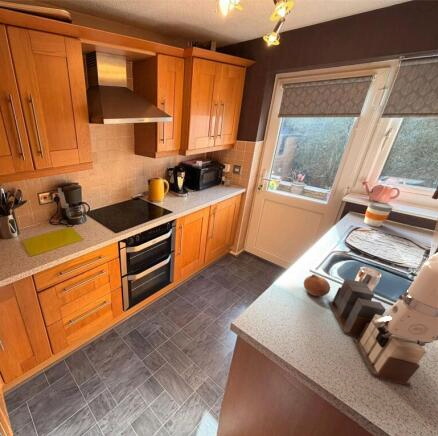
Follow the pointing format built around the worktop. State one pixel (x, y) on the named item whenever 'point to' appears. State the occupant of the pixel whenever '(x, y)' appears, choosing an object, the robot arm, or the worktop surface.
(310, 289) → the onion
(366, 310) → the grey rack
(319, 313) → the worktop surface
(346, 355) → the worktop surface
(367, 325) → the cream rack
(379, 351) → the cream book
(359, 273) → the beer glass
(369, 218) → the reusable coffee cup
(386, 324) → the robot arm
